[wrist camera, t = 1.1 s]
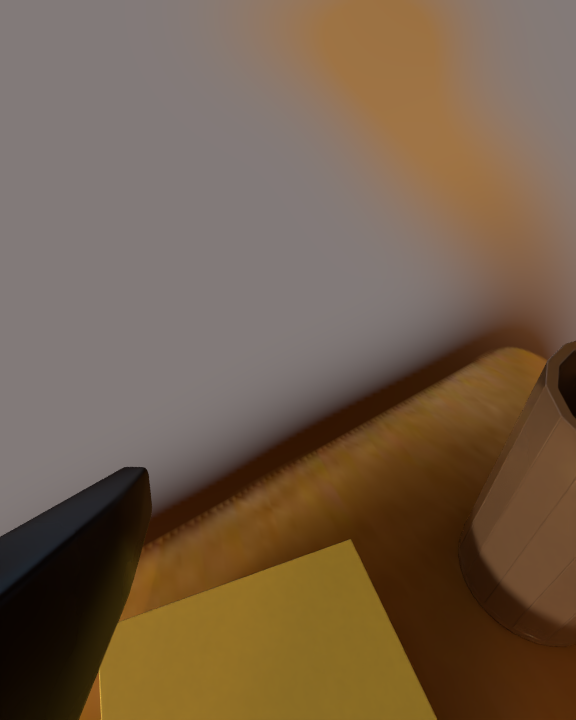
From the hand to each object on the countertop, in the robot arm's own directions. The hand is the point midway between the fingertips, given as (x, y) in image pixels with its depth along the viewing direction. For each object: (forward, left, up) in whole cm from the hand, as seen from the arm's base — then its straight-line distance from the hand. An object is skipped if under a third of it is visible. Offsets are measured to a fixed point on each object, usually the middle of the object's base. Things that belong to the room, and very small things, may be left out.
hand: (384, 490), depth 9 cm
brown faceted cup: (+1, -11, -15) cm, 19 cm away
